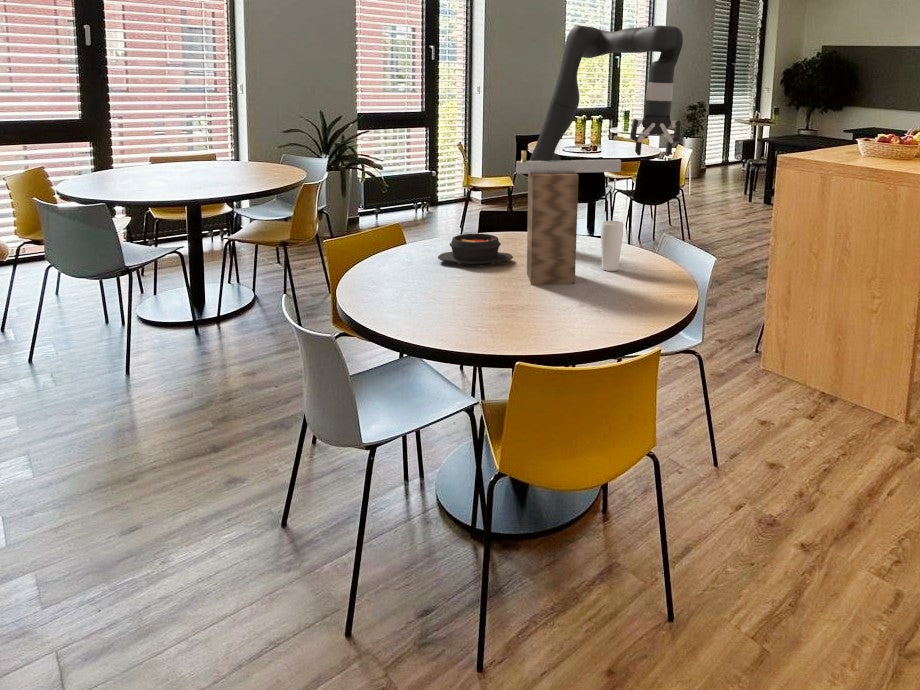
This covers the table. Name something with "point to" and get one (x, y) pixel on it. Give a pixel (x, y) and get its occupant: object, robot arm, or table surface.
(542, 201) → the pedestal
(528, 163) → the bar
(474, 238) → the casserole
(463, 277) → the table surface
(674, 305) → the table surface
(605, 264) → the white tapered cylinder
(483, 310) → the table surface
